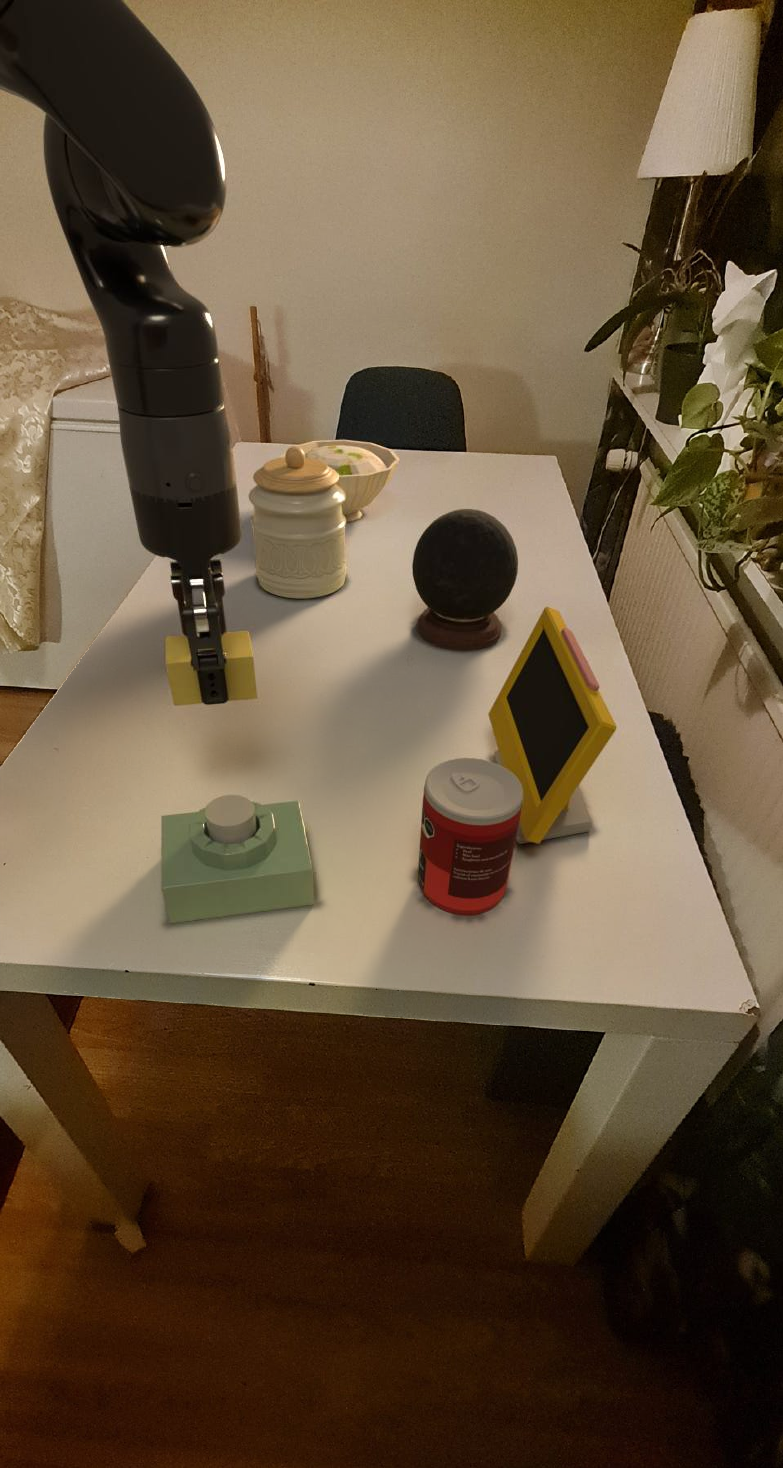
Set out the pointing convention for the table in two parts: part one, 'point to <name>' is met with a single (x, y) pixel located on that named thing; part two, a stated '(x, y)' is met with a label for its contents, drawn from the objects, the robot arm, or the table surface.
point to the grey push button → (230, 819)
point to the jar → (298, 527)
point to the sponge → (236, 669)
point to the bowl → (355, 469)
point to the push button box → (235, 865)
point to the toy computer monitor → (550, 729)
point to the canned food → (468, 834)
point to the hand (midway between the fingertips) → (214, 685)
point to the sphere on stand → (463, 579)
